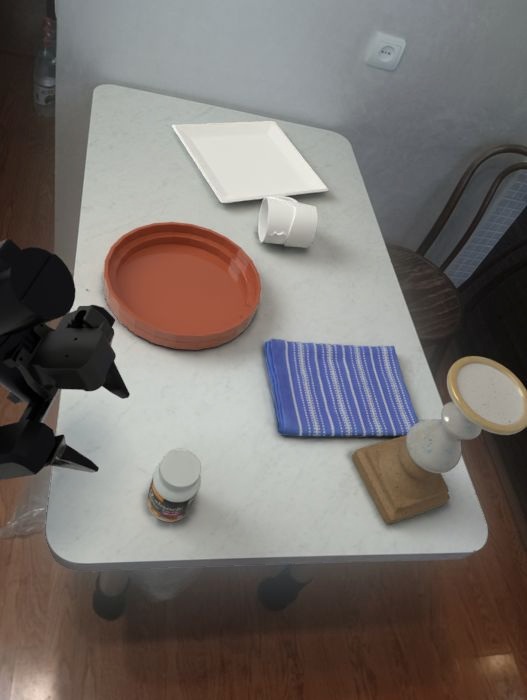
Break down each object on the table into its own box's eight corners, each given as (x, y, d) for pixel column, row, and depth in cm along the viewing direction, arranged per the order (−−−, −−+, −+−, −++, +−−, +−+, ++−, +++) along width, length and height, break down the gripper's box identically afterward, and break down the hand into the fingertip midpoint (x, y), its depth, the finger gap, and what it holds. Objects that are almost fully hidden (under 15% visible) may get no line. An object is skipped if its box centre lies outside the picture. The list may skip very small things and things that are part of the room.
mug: (307, 259, 103) (320, 227, 97) (259, 252, 101) (270, 219, 95) (300, 219, 110) (312, 186, 104) (255, 211, 108) (265, 178, 102)
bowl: (99, 347, 79) (100, 330, 76) (107, 232, 94) (107, 214, 91) (264, 355, 86) (270, 340, 83) (246, 246, 101) (251, 230, 98)
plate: (219, 210, 105) (221, 202, 104) (170, 132, 117) (171, 123, 116) (326, 197, 117) (330, 189, 116) (272, 127, 129) (274, 119, 128)
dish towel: (259, 344, 87) (263, 333, 85) (390, 350, 94) (397, 340, 92) (274, 439, 77) (280, 430, 75) (420, 439, 84) (428, 430, 82)
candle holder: (408, 438, 83) (498, 345, 65) (446, 503, 78) (555, 422, 60) (349, 455, 79) (428, 360, 61) (385, 526, 73) (484, 445, 55)
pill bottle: (139, 512, 66) (145, 479, 59) (158, 473, 70) (167, 436, 62) (182, 530, 66) (194, 499, 59) (199, 489, 70) (212, 455, 62)
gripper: (-2, 408, 38) (139, 509, 47) (97, 243, 50) (194, 349, 59) (-87, 431, 43) (55, 517, 52) (21, 277, 55) (121, 369, 64)
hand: (111, 431), depth 57 cm, fingers open, 9 cm apart
